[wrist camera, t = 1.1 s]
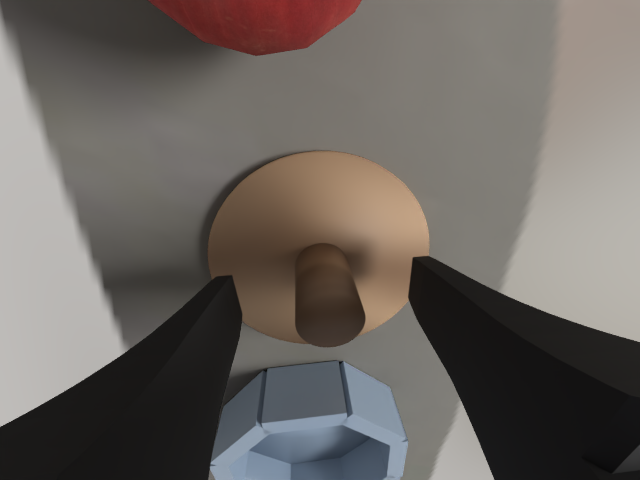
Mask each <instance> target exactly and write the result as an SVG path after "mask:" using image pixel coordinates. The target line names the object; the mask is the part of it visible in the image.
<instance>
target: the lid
mask: <svg viewBox="0 0 640 480" xmlns="http://www.w3.org/2000/svg"><path fill="white" fill-rule="evenodd" d="M420 256H429V232H428V227H427V223H426V219H425V216H424V214H423V211H422V209H421V206H420V205H419V203H418V201H417V200H416V198H415V197H414V195H413V194H412V192H411V191H410V190H409V189H408V188H407V187H406V185H405V184H404V183H403V182H401V181H400V180H399V179H398V178H397V177H396V176H395V175H393V174H392V173H391V172H389V171H388V170H386V169H384V168H383V167H381V166H380V165H378V164H376V163H374V162H372V161H370V160H367V159H365V158H363V157H360V156H356V155H352V154H349V153H344V152H336V151H309V152H302V153H296V154H292V155H289V156H285V157H282V158H279V159H277V160H275V161H272V162H270V163H268V164H266V165H264V166H262V167H261V168H259V169H257V170H256V171H254V172H253V173H251V174H250V175H249V176H248V177H246V178H245V179H244V180H243V181H242V182H240V183H239V184H238V185H237V187H236V188H235V189H234V190H233V191H232V192H231V193H230V195H229V196H228V197H227V198H226V200H225V201H224V203H223V205H222V206H221V208H220V209H219V211H218V213H217V215H216V217H215V220H214V222H213V224H212V228H211V232H210V236H209V241H208V265H209V270H210V274H211V278H212V280H213V279H214V278H215V277H216V276H225V275H232V276H233V280H234V284H235V288H236V291H237V295H238V299H239V303H240V306H241V310H242V314H243V316H242V321H243V322H244V323H246V324H247V325H249V326H250V327H252V328H254V329H255V330H257V331H259V332H261V333H263V334H266V335H268V336H270V337H273V338H276V339H279V340H284V341H288V342H293V343H301V344H312V345H315V346H319V347H336V346H340V345H343V344H345V343H348V342H349V341H351V340H353V339H354V338H355V337H357V336H359V335H362V334H364V333H366V332H369V331H371V330H373V329H375V328H376V327H378V326H380V325H381V324H383V323H384V322H386V321H387V320H388V319H390V318H391V317H393V316H394V315H395V314H396V313H397V312H398V311H399V310H400V309H401V308H402V307H403V306H404V305H405V304H406V303H407V302H408V300H409V299H408V293H409V284H410V276H411V267H412V259H413V257H420Z"/></svg>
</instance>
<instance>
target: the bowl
mask: <svg viewBox="0 0 640 480" xmlns="http://www.w3.org/2000/svg"><path fill="white" fill-rule="evenodd" d="M407 446H408V439H407V436H406V433H405V430H404V427H403V424H402V421H401V418H400V415H399V412H398V409H397V406H396V403H395V400H394V397H393V394H392V391H391V390H390V387H389V386H387V385H385V384H383V383H382V382H380V381H378V380H376V379H374V378H373V377H371V376H369V375H367V374H365V373H364V372H362V371H360V370H358V369H356V368H354V367H353V366H351V365H349V364H347V363H345V362H344V361H343V362H342V363H341V364H340V365H339V361H330V362H321V363H312V364H303V365H294V366H286V367H277V368H268V369H267V372H265V371H262V372H261V373H259V374H258V375H257V376H256V377H255V378H254V379H253V380H252V381H251V382H250V383H249V384H247V385H246V386H245V387H244V388H243V389H242V390H241V391H240V392H239V393H238V394H237V395H236V396H234V397H233V398H232V399H231V400H230V401H229V402H228V403H227V404H226V405H225V406H224V407H223V410H222V415H221V419H220V423H219V427H218V431H217V435H216V439H215V443H214V447H213V452H212V458H211V464H210V470H211V472H212V474H213V475H214V477H215V479H216V480H399V479H400V478H399V477H402V475H403V469H404V464H405V458H406V452H407Z"/></svg>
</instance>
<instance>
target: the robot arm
mask: <svg viewBox="0 0 640 480" xmlns="http://www.w3.org/2000/svg"><path fill="white" fill-rule="evenodd" d="M408 299H409V301H410V304H411V306H412V309H413V311H414V314H415V316H416V318H417V320H418V322H419V324H420V326H421V327H422V329H423V331H424V333H425V334H426V336H427V338H428V340H429V341H430V343H431V345H432V346H433V348H434V350H435V352H436V353H437V355H438V357H439V358H440V360H441V362H442V364H443V365H444V367H445V369H446V371H447V372H448V374H449V376H450V378H451V380H452V382H453V384H454V386H455V388H456V391H457V393H458V395H459V397H460V399H461V401H462V403H463V406H464V408H465V410H466V412H467V415H468V417H469V419H470V422H471V424H472V426H473V428H474V431H475V433H476V435H477V438H478V440H479V442H480V445H481V448H482V450H483V453H484V455H485V457H486V460H487V462H488V465H489V467H490V470H491V472H492V475H493V477H494V480H640V342H637V341H634V340H630V339H626V338H623V337H619V336H616V335H612V334H609V333H606V332H603V331H599V330H596V329H593V328H590V327H587V326H583V325H581V324H577V323H574V322H571V321H569V320H566V319H563V318H560V317H557V316H555V315H552V314H549V313H546V312H544V311H541V310H539V309H536V308H534V307H531V306H529V305H526V304H524V303H521V302H519V301H517V300H515V299H512V298H510V297H508V296H506V295H504V294H501V293H499V292H497V291H495V290H493V289H491V288H489V287H487V286H485V285H483V284H481V283H479V282H477V281H475V280H473V279H471V278H469V277H467V276H465V275H464V274H462V273H460V272H458V271H456V270H454V269H453V268H451V267H449V266H447V265H445V264H443V263H441V262H439V261H438V260H436V259H434V258H431V257H429V256H420V257H413V259H412V267H411V276H410V284H409V293H408ZM242 316H243V314H242V310H241V306H240V303H239V299H238V295H237V291H236V288H235V284H234V280H233V276H232V275H225V276H216V277H215V278H214V279H213V280H211V281H210V282H209V283H208V284H207V285H206V286H205V287H204V288H203V289H202V290H201V291H199V292H198V293H197V294H196V295H195V296H194V297H193V298H192V299H191V300H190V301H189V302H187V303H186V304H185V305H184V306H183V307H182V308H181V309H180V310H179V311H177V312H176V313H175V314H174V315H173V316H172V317H170V318H169V319H168V320H167V321H166V322H164V323H163V324H162V325H161V326H160V327H158V328H157V329H156V330H155V331H154V332H152V333H151V334H150V335H148V336H147V337H146V338H145V339H143V340H142V341H141V342H139V343H138V344H137V345H135V346H134V347H132V348H131V349H130V350H128V351H127V352H125V353H124V354H123V355H121V356H120V357H118V358H117V359H115V360H114V361H112V362H111V363H109V364H108V365H106V366H105V367H103V368H101V369H100V370H98V371H97V372H95V373H94V374H92V375H91V376H89V377H88V378H86V379H84V380H83V381H81V382H80V383H78V384H76V385H75V386H73V387H71V388H70V389H68V390H66V391H64V392H63V393H61V394H59V395H58V396H56V397H54V398H52V399H51V400H49V401H47V402H45V403H44V404H42V405H40V406H38V407H37V408H35V409H33V410H31V411H29V412H28V413H26V414H24V415H22V416H20V417H18V418H16V419H15V420H13V421H11V422H9V423H7V424H5V425H3V426H1V427H0V480H208V477H209V470H210V464H211V458H212V452H213V446H214V440H215V434H216V429H217V423H218V418H219V412H220V407H221V403H222V399H223V395H224V391H225V388H226V384H227V381H228V377H229V374H230V370H231V366H232V363H233V359H234V356H235V352H236V349H237V345H238V341H239V337H240V330H241V323H242Z"/></svg>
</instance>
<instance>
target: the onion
mask: <svg viewBox="0 0 640 480" xmlns="http://www.w3.org/2000/svg"><path fill="white" fill-rule="evenodd" d="M148 1H149V2H151V3H152V4H153V5H155V6H156V7H157V8H159V9H160V10H161V11H163V12H164V13H165V14H167V15H168V16H169V17H171V18H172V19H173V20H175V21H176V22H178V23H179V24H180V25H182V26H183V27H184V28H186V29H187V30H188V31H190V32H191V33H192V34H194V35H195V36H196V37H198V38H199V39H200V40H202V41H203V42H206V43H210V44H214V45H218V46H221V47H225V48H229V49H233V50H236V51H240V52H244V53H247V54H251V55H255V56H258V55H265V54H272V53H278V52H284V51H290V50H297V49H303V48H307V47H309V46H310V45H311V44H313V43H314V42H315V41H317V40H318V39H319V38H321V37H322V36H323V35H325V34H326V33H327V32H329V31H330V30H331V29H333V28H334V27H336V26H337V25H339V24H340V23H342V22H343V21H344V20H346V19H347V18H348V17H349V16H350V15H352V14H353V13H354V12H355V10H356V9H357V7H358V5H359V4H360V2H361V0H148Z"/></svg>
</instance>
